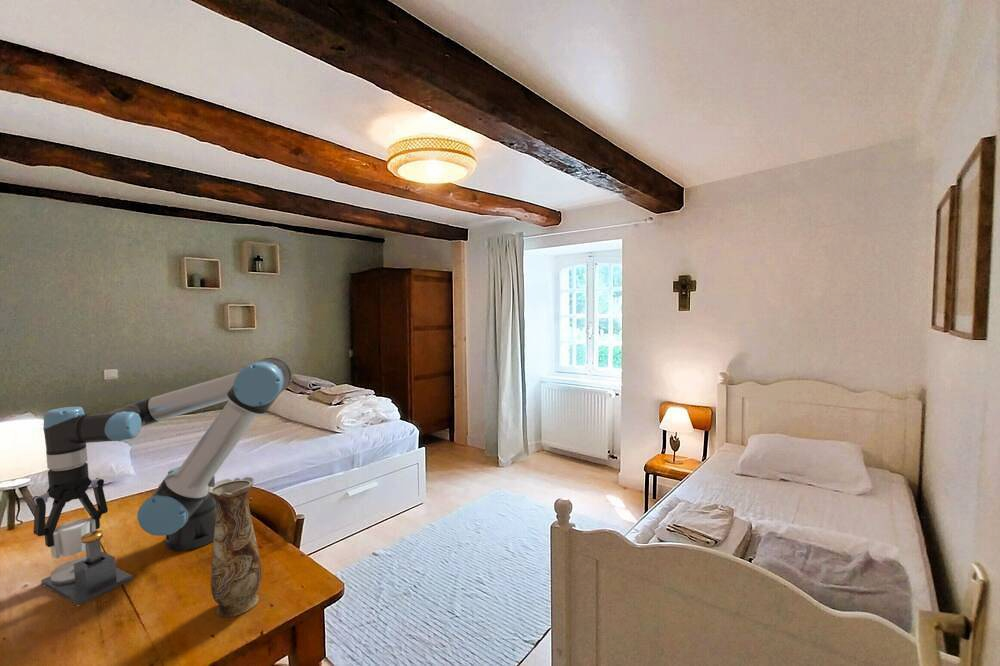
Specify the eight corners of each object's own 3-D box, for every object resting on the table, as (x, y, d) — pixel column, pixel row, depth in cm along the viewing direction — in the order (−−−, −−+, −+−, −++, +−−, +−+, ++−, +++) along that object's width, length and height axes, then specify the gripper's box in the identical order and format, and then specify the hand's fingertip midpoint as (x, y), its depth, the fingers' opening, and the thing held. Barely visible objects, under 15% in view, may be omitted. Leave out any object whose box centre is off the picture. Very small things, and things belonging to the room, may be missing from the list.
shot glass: (51, 560, 110) (49, 534, 110) (63, 546, 117) (61, 522, 116) (86, 552, 114) (84, 527, 113) (96, 540, 120) (94, 516, 119)
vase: (208, 625, 97) (199, 498, 95) (218, 596, 107) (210, 480, 105) (260, 611, 102) (253, 489, 99) (264, 584, 111) (258, 473, 109)
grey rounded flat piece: (110, 566, 118) (109, 560, 118) (61, 589, 109) (60, 582, 109) (92, 558, 122) (91, 552, 122) (43, 578, 113) (43, 572, 113)
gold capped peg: (108, 562, 112) (105, 532, 111) (88, 571, 108) (85, 540, 108) (100, 558, 114) (98, 529, 113) (80, 567, 110) (78, 536, 109)
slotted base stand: (132, 579, 114) (130, 553, 114) (78, 606, 104) (75, 578, 104) (94, 561, 123) (92, 537, 122) (41, 584, 113) (39, 558, 112)
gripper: (107, 452, 124) (113, 528, 125) (7, 477, 106) (16, 565, 108) (120, 455, 121) (126, 534, 122) (20, 482, 103) (29, 573, 105)
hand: (74, 548), depth 115 cm, fingers closed on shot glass, 7 cm apart
